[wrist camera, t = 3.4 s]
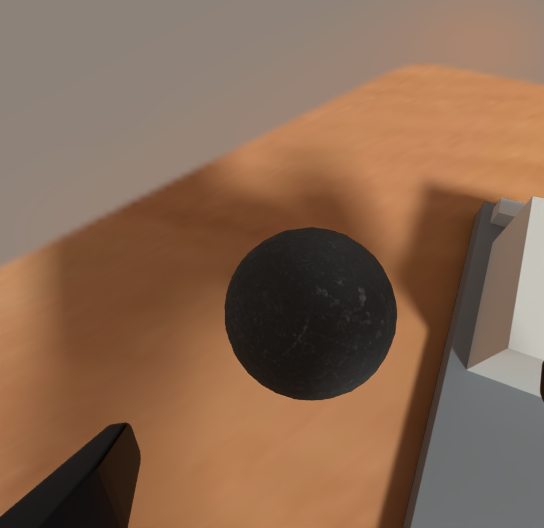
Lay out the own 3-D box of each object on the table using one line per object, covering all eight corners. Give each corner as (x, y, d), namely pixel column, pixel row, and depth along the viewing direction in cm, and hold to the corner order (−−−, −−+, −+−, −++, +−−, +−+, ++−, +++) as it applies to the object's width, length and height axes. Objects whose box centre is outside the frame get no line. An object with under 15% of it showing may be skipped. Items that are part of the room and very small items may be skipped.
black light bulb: (368, 312, 20) (415, 197, 11) (364, 427, 17) (419, 402, 8) (264, 300, 20) (227, 185, 12) (245, 408, 18) (180, 367, 9)
